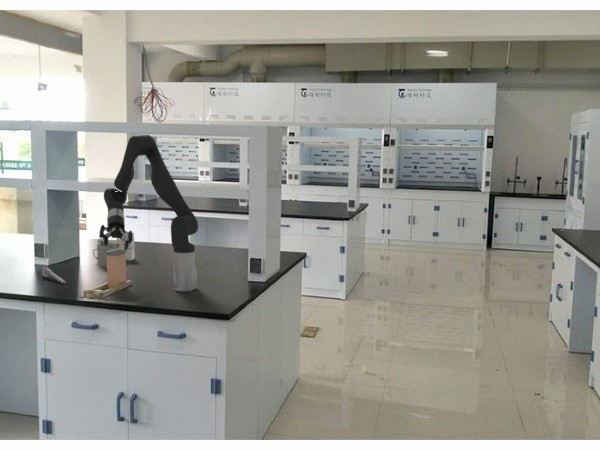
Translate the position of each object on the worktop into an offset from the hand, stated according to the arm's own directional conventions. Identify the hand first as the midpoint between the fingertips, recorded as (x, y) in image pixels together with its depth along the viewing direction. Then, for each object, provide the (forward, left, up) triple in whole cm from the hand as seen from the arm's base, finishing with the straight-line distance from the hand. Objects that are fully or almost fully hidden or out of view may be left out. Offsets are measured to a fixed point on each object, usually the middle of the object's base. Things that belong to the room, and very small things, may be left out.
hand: (116, 246), depth 263 cm
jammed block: (0, 0, -18) cm, 18 cm away
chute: (0, +7, -19) cm, 20 cm away
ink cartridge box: (+30, -58, -19) cm, 68 cm away
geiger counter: (+30, -39, -19) cm, 53 cm away
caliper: (+36, -5, -20) cm, 41 cm away
